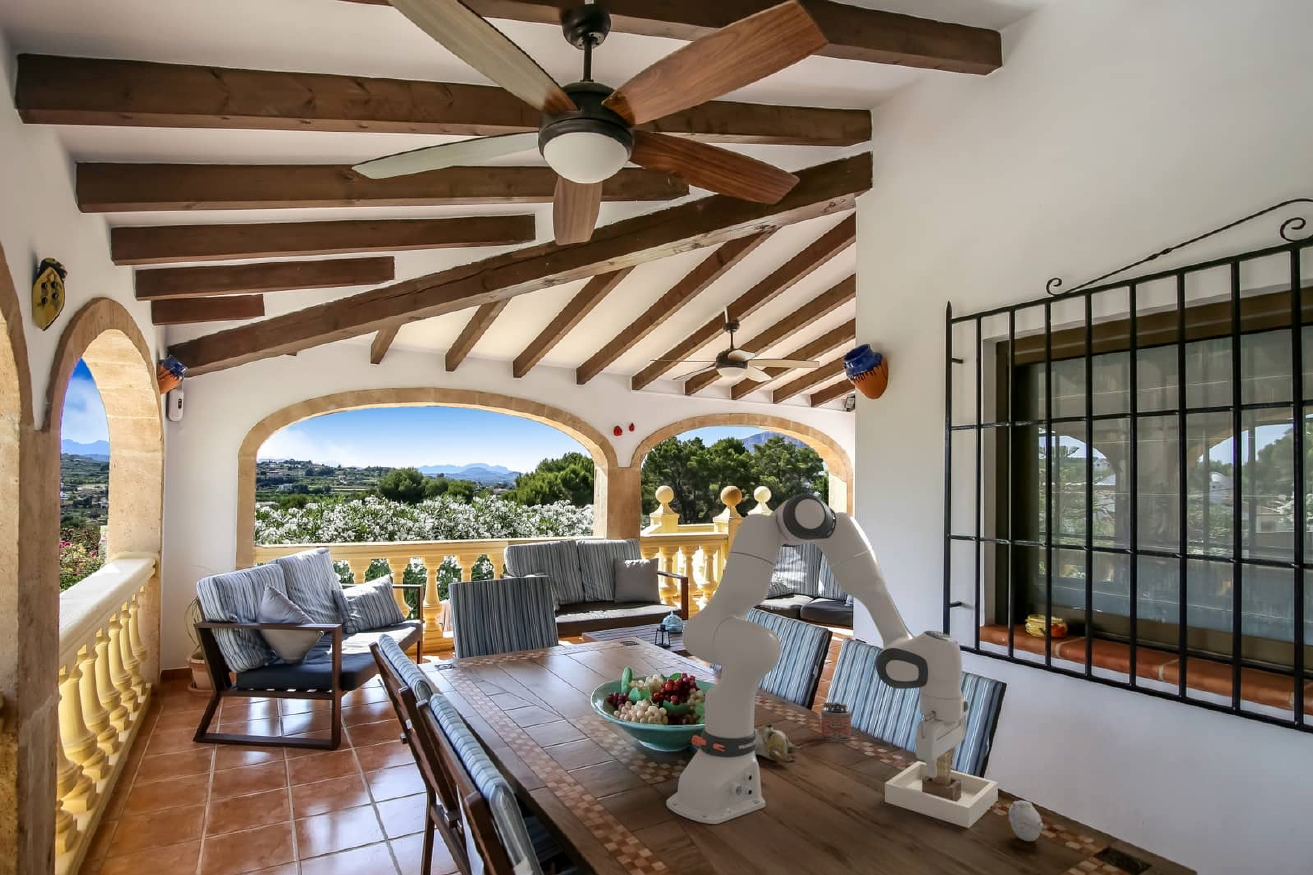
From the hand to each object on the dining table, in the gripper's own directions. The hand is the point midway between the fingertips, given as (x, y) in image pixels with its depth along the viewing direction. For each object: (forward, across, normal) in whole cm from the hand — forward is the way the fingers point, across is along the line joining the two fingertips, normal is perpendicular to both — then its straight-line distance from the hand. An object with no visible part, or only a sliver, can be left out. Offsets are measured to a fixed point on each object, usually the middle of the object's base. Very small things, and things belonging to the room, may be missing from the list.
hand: (941, 770), depth 165 cm
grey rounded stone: (+7, -6, -19) cm, 21 cm away
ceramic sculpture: (+7, -4, +41) cm, 42 cm away
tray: (+7, 0, 0) cm, 7 cm away
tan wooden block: (+6, 0, 0) cm, 6 cm away
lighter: (+7, +19, +36) cm, 41 cm away
